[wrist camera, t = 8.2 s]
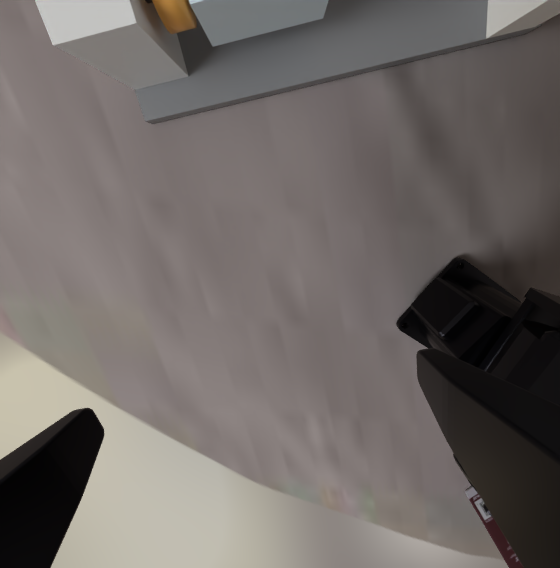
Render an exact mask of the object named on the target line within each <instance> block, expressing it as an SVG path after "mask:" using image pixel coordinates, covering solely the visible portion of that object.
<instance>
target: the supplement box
mask: <svg viewBox="0 0 560 568" xmlns="http://www.w3.org/2000/svg"><path fill="white" fill-rule="evenodd" d="M465 493H466V495H467V497H468V498H469V500H470V502H471V503H472V505H473V507H474V509H475V510H476V512H477V514H478V515H479V517H480V519H481V520H482V522H483V524H484V525H485V527H486V529H487V531H488V532H489V534H490V536H491V538H492V539H493V541H494V543H495V544H496V546H497V548H498V550H499V551H500V553H501V555H502V556H503V558H504V560H505V562H506V563H507V565H508V567H509V568H524V567H523V566H522V564H521V562H520V561H519V559H518V557H517V556H516V554H515V552H514V551H513V549H512V548H511V546H510V544H509V543H508V541H507V539H506V538H505V536H504V534H503V533H502V531H501V530H500V528H499V526H498V525H497V523H496V521H495V520H494V518H493V517H492V516H491V515H489V514H488V513H487V512H486V511H485V510H484V508H483V504H484V502H483V500H482V498H481V497H480V495H479V494H478V493H477V492H476V490H475V489H474V488H473V487H470V488H469V489H467V490H466V491H465Z"/></svg>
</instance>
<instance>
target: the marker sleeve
mask: <svg viewBox="0 0 560 568" xmlns="http://www.w3.org/2000/svg"><path fill="white" fill-rule="evenodd" d="M328 1H329V0H189V2H190V5H191V7H192V9H193V11H194V13H195V15H196V16H197V18H198V20H199V22H200V24H201V26H202V28H203V30H204V31H205V33H206V35H207V37H208V39H209V41H210V43H211V45H212V46H213V47H214V46H218V45H222V44H225V43H229V42H233V41H237V40H241V39H245V38H249V37H253V36H257V35H260V34H264V33H268V32H272V31H276V30H280V29H284V28H288V27H292V26H296V25H299V24H303V23H307V22H311V21H315V20H319V19H323V17H324V14H325V11H326V7H327V4H328Z"/></svg>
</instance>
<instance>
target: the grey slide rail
mask: <svg viewBox="0 0 560 568" xmlns="http://www.w3.org/2000/svg"><path fill="white" fill-rule="evenodd" d="M35 2H36V4H37V7H38V9H39V11H40V14H41V16H42V19H43V21H44V24H45V26H46V29H47V31H48V34H49V36H50V39H51V41H52V44H53V46H55V47H57V48H59V49H61V50H63V51H64V52H66V53H68V54H70V55H72V56H73V57H75V58H77V59H79V60H81V61H83V62H84V63H86V64H88V65H90V66H92V67H94V68H95V69H97V70H99V71H101V72H103V73H104V74H106V75H108V76H110V77H112V78H114V79H115V80H117V81H119V82H121V83H123V84H125V85H126V86H128V87H130V88H132V89H134V90H135V93H136V96H137V99H138V102H139V105H140V108H141V111H142V114H143V117H144V120H145V122H148V123H151V124H154V123H159V122H163V121H167V120H171V119H175V118H179V117H183V116H188V115H192V114H196V113H200V112H204V111H208V110H213V109H217V108H221V107H225V106H229V105H233V104H237V103H242V102H246V101H250V100H254V99H258V98H262V97H266V96H271V95H275V94H279V93H283V92H287V91H291V90H296V89H300V88H304V87H308V86H312V85H316V84H320V83H325V82H329V81H333V80H337V79H341V78H345V77H349V76H354V75H358V74H362V73H366V72H370V71H374V70H378V69H383V68H387V67H391V66H395V65H399V64H403V63H408V62H412V61H416V60H420V59H424V58H428V57H432V56H437V55H441V54H445V53H449V52H453V51H457V50H461V49H466V48H470V47H474V46H478V45H482V44H486V43H490V42H495V41H499V40H503V39H507V38H511V37H515V36H520V35H524V34H527V33H528V32H530V31H532V30H534V29H536V28H538V27H539V26H541V25H542V23H543V22H545V21H547V20H549V19H551V18H552V17H554V16H556V15H558V14H560V0H329V1H328V4H327V7H326V11H325V14H324V17H323V19H319V20H315V21H311V22H307V23H303V24H299V25H296V26H292V27H288V28H284V29H280V30H276V31H272V32H268V33H264V34H260V35H257V36H253V37H249V38H245V39H241V40H237V41H233V42H229V43H225V44H222V45H218V46H214V47H213V46H212V45H211V43H210V41H209V39H208V37H207V35H206V33H205V31H204V30H203V28H202V26H201V24H200V22H199V20H198V18H197V16H196V15H195V13H194V11H193V9H192V7H191V5H190V2H189V0H35Z"/></svg>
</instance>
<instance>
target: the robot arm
mask: <svg viewBox="0 0 560 568" xmlns="http://www.w3.org/2000/svg"><path fill="white" fill-rule="evenodd" d="M459 263H461V265H460V267H458V268H457V265H458V264H459ZM524 297H526V299H525V301H524V302H523V303H521V302H520V301H519V300H518V299H517V298H515V297H514V296H513V295H511V294H510V293H509V292H507V291H506V290H505V289H503V288H502V287H501V286H499V285H498V284H497V283H495V282H494V281H493V280H491V279H490V278H489V277H487V276H486V275H485V274H483V273H482V272H481V271H479V270H478V269H477V268H475V267H474V266H473V265H471V264H470V263H469V262H467V261H466V260H464V259H462V258H455V259H454V260H452V261H451V262H450V263H449V265H448V266H447V267H446V268H445V269H444V270H443V271H442V272H441V273H440V274H439V276H438V277H437V278H435V279H434V280H433V281H432V282H431V283H430V284H429V285H428V287H427V288H426V289H425V290H424V291H423V292H422V293H421V294H420V295H419V296H418V298H417V299H416V300H415V301H414V302H413V303H412V305H411V306H410V307H409V308H408V309H407V311H406V312H405V313H404V314H403V315H402V316H401V317H400V318H399V319H398V321H397V323H396V325H397V327H398V328H399V329H400V330H401V331H402V332H404V333H405V334H407V335H408V336H410V337H412V338H413V339H415V340H416V341H418V342H419V343H421V344H423V345H424V346H426V347H427V348H428V349H423V350H419V351H418V352H417V377H418V381H419V384H420V386H421V389H422V391H423V393H424V395H425V397H426V399H427V401H428V403H429V405H430V407H431V409H432V412H433V414H434V416H435V418H436V420H437V422H438V424H439V426H440V428H441V430H442V432H443V434H444V436H445V438H446V440H447V442H448V444H449V446H450V447H451V449H452V451H453V453H454V454H453V456H454V458H455V461H456V463H457V464H458V466H459V467H460V469H461V470H462V472H463V473H464V475H465V476H466V478H467V479H468V481H469V483H470V484H471V485H472V487H473V488H474V489H475V490H476V492H477V493H478V494H479V495H480V497H481V498H482V500H483V502H484V504H483V508H484V510H485V511H486V512H487V513H488V514H489V515H491V516H492V517H493V518H494V520H495V521H496V523H497V525H498V526H499V528H500V530H501V531H502V533H503V534H504V536H505V538H506V539H507V541H508V543H509V544H510V546H511V548H512V549H513V551H514V552H515V554H516V556H517V557H518V559H519V561H520V562H521V564H522V566H523V567H524V568H560V297H559V296H556V295H553V294H550V293H547V292H544V291H540V290H537V289H534V288H530V289H529V290H528V292H527V293H526V295H525V296H524ZM403 323H406V325H404V326H402V324H403ZM103 438H104V429H103V426H102V425H101V423H100V422H99V420H98V418H97V417H96V415H95V413H94V411H93V410H92V409H90V408H84V409H78V410H74V411H72V412H70V413H69V414H68V415H66V416H64V417H63V418H61V419H60V420H59V421H57V422H56V423H54V424H53V425H51V426H50V427H48V428H47V429H45V430H44V431H42V432H41V433H39V434H38V435H36V436H35V437H33V438H32V439H30V440H29V441H27V442H26V443H24V444H23V445H22V446H20V447H19V448H17V449H16V450H14V451H13V452H11V453H10V454H8V455H7V456H5V457H4V458H2V459H1V460H0V568H51V565H52V563H53V561H54V559H55V556H56V554H57V552H58V550H59V548H60V545H61V543H62V541H63V539H64V537H65V534H66V532H67V530H68V528H69V526H70V523H71V521H72V519H73V516H74V514H75V512H76V510H77V508H78V505H79V503H80V501H81V498H82V496H83V493H84V491H85V488H86V485H87V483H88V480H89V477H90V474H91V471H92V468H93V466H94V463H95V460H96V457H97V455H98V452H99V449H100V446H101V444H102V441H103Z"/></svg>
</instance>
